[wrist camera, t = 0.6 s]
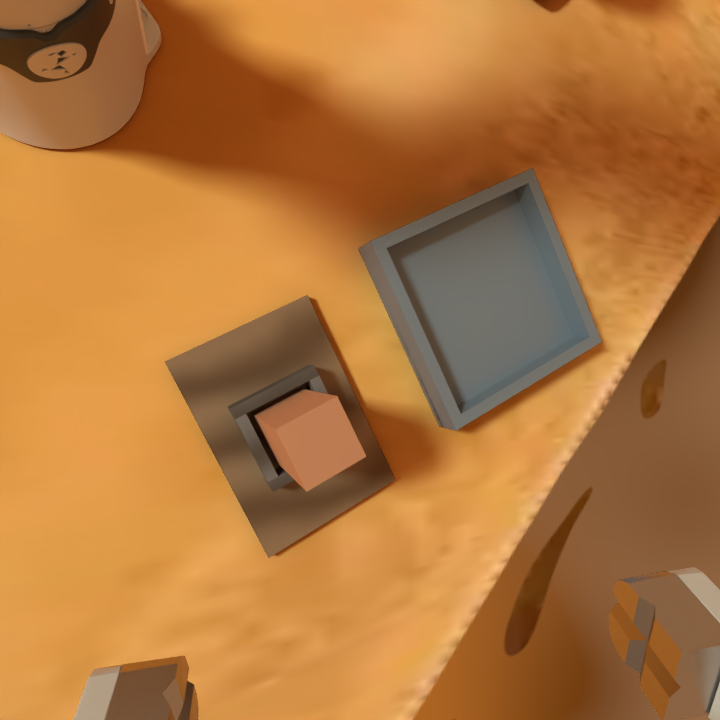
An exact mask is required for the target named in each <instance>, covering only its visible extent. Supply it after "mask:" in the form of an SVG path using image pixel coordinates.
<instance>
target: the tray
mask: <svg viewBox="0 0 720 720" xmlns="http://www.w3.org/2000/svg"><path fill="white" fill-rule="evenodd" d="M359 251H360V254H361V256H362V258H363V260H364V262H365V265H366V267H367V269H368V271H369V273H370V276H371V278H372V280H373V282H374V284H375V287H376V289H377V291H378V293H379V295H380V298H381V300H382V302H383V304H384V306H385V308H386V311H387V313H388V315H389V317H390V319H391V322H392V324H393V326H394V328H395V330H396V333H397V335H398V337H399V339H400V341H401V344H402V346H403V348H404V350H405V352H406V354H407V357H408V359H409V361H410V363H411V365H412V368H413V370H414V372H415V374H416V376H417V379H418V381H419V383H420V385H421V387H422V390H423V392H424V394H425V396H426V398H427V400H428V403H429V405H430V407H431V409H432V411H433V414H434V416H435V418H436V420H437V422H438V425H439V427H443V428H447V429H451V430H455V431H457V430H458V429H460V428H462V427H463V426H465V425H466V424H468V423H470V422H471V421H473V420H475V419H476V418H478V417H480V416H481V415H483V414H484V413H486V412H488V411H489V410H491V409H493V408H494V407H496V406H498V405H499V404H501V403H502V402H504V401H506V400H507V399H509V398H511V397H512V396H514V395H516V394H517V393H519V392H521V391H522V390H524V389H525V388H527V387H529V386H530V385H532V384H534V383H535V382H537V381H539V380H540V379H542V378H543V377H545V376H547V375H548V374H550V373H552V372H553V371H555V370H557V369H558V368H560V367H561V366H563V365H565V364H566V363H568V362H570V361H571V360H573V359H575V358H576V357H578V356H579V355H581V354H583V353H584V352H586V351H588V350H589V349H591V348H593V347H594V346H596V345H598V344H599V343H601V342H602V341H601V338H600V336H599V333H598V331H597V328H596V326H595V323H594V321H593V318H592V316H591V313H590V311H589V308H588V306H587V303H586V301H585V298H584V296H583V293H582V291H581V288H580V286H579V283H578V280H577V278H576V275H575V273H574V270H573V268H572V265H571V263H570V260H569V258H568V255H567V253H566V250H565V248H564V245H563V243H562V240H561V238H560V235H559V233H558V230H557V228H556V225H555V223H554V220H553V218H552V215H551V213H550V210H549V207H548V205H547V202H546V200H545V197H544V195H543V192H542V190H541V187H540V185H539V182H538V180H537V177H536V175H535V172H534V170H533V168H531V169H529V170H527V171H525V172H523V173H520V174H518V175H516V176H514V177H512V178H509V179H507V180H505V181H503V182H500V183H498V184H496V185H494V186H492V187H489V188H487V189H485V190H483V191H481V192H478V193H476V194H474V195H472V196H469V197H467V198H465V199H463V200H461V201H458V202H456V203H454V204H452V205H450V206H447V207H445V208H443V209H441V210H438V211H436V212H434V213H432V214H430V215H427V216H425V217H423V218H421V219H419V220H416V221H414V222H412V223H410V224H408V225H405V226H403V227H401V228H399V229H396V230H394V231H392V232H390V233H388V234H385V235H383V236H381V237H379V238H377V239H374V240H372V241H370V242H368V243H367V244H365V245H364V246H362V247H360V248H359Z"/></svg>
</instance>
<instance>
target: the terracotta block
mask: <svg viewBox="0 0 720 720" xmlns="http://www.w3.org/2000/svg"><path fill="white" fill-rule="evenodd" d="M252 416H253V417H254V419H255V421H256V423H257V425H258V427H259V429H260V431H261V433H262V435H263V437H264V439H265V441H266V443H267V445H268V447H269V449H270V451H271V453H272V455H273V457H274V459H275V461H276V462H277V463H278V464H279V465H280V466H281V467H282V468H283V469H284V470H285V471H286V472H287V473H288V474H289V475H290V476H291V477H292V478H293V479H294V480H295V481H296V482H297V483H298V484H299V485H300V486H301V487H302V488H303V489H304V490H305V491H309V490H311V489H312V488H314V487H316V486H317V485H319V484H321V483H322V482H324V481H326V480H328V479H329V478H331V477H333V476H334V475H336V474H338V473H339V472H341V471H343V470H344V469H346V468H348V467H349V466H351V465H353V464H355V463H356V462H358V461H360V460H361V459H363V458H365V457H366V454H365V452H364V450H363V448H362V446H361V444H360V442H359V440H358V438H357V436H356V434H355V432H354V430H353V428H352V425H351V423H350V421H349V419H348V417H347V415H346V413H345V411H344V409H343V407H342V405H341V403H340V401H339V399H338V396H335V395H330V394H325V393H320V392H315V391H310V390H306V389H301V388H300V389H298V390H296V391H294V392H292V393H291V394H289V395H287V396H285V397H283V398H281V399H279V400H277V401H275V402H273V403H271V404H270V405H268V406H266V407H264V408H262V409H260V410H258V411H256V412H254V413H252Z"/></svg>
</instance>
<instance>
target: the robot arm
mask: <svg viewBox="0 0 720 720" xmlns="http://www.w3.org/2000/svg"><path fill="white" fill-rule="evenodd" d="M161 41H162V36H161V31H160V28H159V26H158V24H157V22H156V21H155V19H154V18H153V17H152V15H151V14H150V12H149V11H148V10H147V8H146V7H145V5H144V4H143V3H142V1H141V0H0V132H1V133H3V134H5V135H6V136H8V137H11V138H13V139H15V140H18V141H20V142H23V143H26V144H29V145H33V146H37V147H42V148H49V149H74V148H81V147H85V146H89V145H93V144H95V143H98V142H100V141H102V140H105V139H106V138H108V137H110V136H112V135H113V134H115V133H116V132H117V131H118V130H120V129H121V128H122V127H123V126H124V125H125V124H126V123H127V122H128V121H129V119H130V118H131V117H132V115H133V114H134V112H135V110H136V108H137V106H138V104H139V102H140V99H141V96H142V92H143V86H144V79H145V72H146V68H147V65H148V64H149V62H150V61H151V59H152V58H153V57H154V55H155V54H156V52H157V51H158V49H159V47H160V45H161ZM613 595H614V596H615V597H616V599H617V600H618V603H617V604H616V605H615V606H614V607H613V608H612V609H611V610H610V616H609V628H610V632H611V638H612V640H613V642H614V645H615V647H616V649H617V651H618V653H619V655H620V656H621V658H622V659H623V661H624V663H625V664H627V665H628V666H630V667H631V668H633V669H634V670H636V671H638V672H639V673H640V687H641V689H642V690H643V692H644V693H645V695H646V697H647V698H648V700H649V701H650V703H651V704H652V706H653V707H654V709H655V710H656V712H657V713H658V715H659V717H660V718H661V719H662V720H679V719H684V718H690V717H696V716H703V715H709V718H710V719H711V720H720V590H719V589H718V588H717V587H716V585H715V584H714V583H713V582H712V581H710V579H709V578H708V577H707V576H706V575H705V574H704V573H703V572H702V571H701V570H699V569H697V568H695V567H689V568H683V569H677V570H672V571H662V572H657V573H652V574H647V575H641V576H636V577H631V578H625V579H620V580H619V581H618V582H617V583H616V584H615V587H614V592H613ZM188 672H189V666H188V663H187V661H186V658H185V656H178V657H171V658H164V659H157V660H150V661H143V662H136V663H129V664H123V665H117V666H110V667H104V668H98V669H94V670H93V672H92V673H91V675H90V676H89V678H88V679H87V682H86V685H85V688H84V691H83V694H82V697H81V699H80V702H79V705H78V708H77V711H76V714H75V717H74V720H198V700H197V693H196V690H195V686H194V684H192V683H190V682H189V681H187V679H188Z"/></svg>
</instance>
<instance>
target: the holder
mask: <svg viewBox="0 0 720 720" xmlns="http://www.w3.org/2000/svg"><path fill="white" fill-rule="evenodd" d="M165 363H166V365H167V367H168V369H169V370H170V372H171V374H172V376H173V378H174V380H175V382H176V384H177V386H178V387H179V389H180V391H181V393H182V395H183V397H184V399H185V401H186V403H187V405H188V406H189V408H190V410H191V412H192V414H193V416H194V418H195V420H196V422H197V423H198V425H199V427H200V429H201V431H202V433H203V435H204V437H205V439H206V440H207V442H208V444H209V446H210V448H211V450H212V452H213V454H214V456H215V457H216V459H217V461H218V463H219V465H220V467H221V469H222V471H223V473H224V474H225V476H226V478H227V480H228V482H229V484H230V486H231V488H232V490H233V492H234V493H235V495H236V497H237V499H238V501H239V503H240V505H241V507H242V509H243V510H244V512H245V514H246V516H247V518H248V520H249V522H250V524H251V526H252V527H253V529H254V531H255V533H256V535H257V537H258V539H259V541H260V543H261V544H262V546H263V548H264V550H265V552H266V554H267V556H268V558H270V557H271V556H273V555H275V554H276V553H278V552H279V551H281V550H283V549H284V548H286V547H288V546H289V545H291V544H292V543H294V542H296V541H297V540H299V539H300V538H302V537H304V536H305V535H307V534H309V533H310V532H312V531H313V530H315V529H317V528H318V527H320V526H321V525H323V524H325V523H326V522H328V521H330V520H331V519H333V518H334V517H336V516H338V515H339V514H341V513H343V512H344V511H346V510H347V509H349V508H351V507H352V506H354V505H355V504H357V503H359V502H360V501H362V500H364V499H365V498H367V497H368V496H370V495H372V494H373V493H375V492H376V491H378V490H380V489H381V488H383V487H385V486H386V485H388V484H389V483H391V482H393V481H394V480H395V478H394V475H393V473H392V471H391V469H390V467H389V465H388V463H387V461H386V459H385V457H384V454H383V452H382V450H381V448H380V446H379V444H378V442H377V440H376V438H375V436H374V434H373V431H372V429H371V427H370V425H369V423H368V421H367V419H366V417H365V415H364V413H363V410H362V408H361V406H360V404H359V402H358V400H357V398H356V396H355V394H354V392H353V390H352V387H351V385H350V383H349V381H348V379H347V377H346V375H345V373H344V371H343V369H342V366H341V364H340V362H339V360H338V358H337V356H336V354H335V352H334V350H333V348H332V346H331V343H330V341H329V339H328V337H327V335H326V333H325V331H324V329H323V327H322V325H321V322H320V320H319V318H318V316H317V314H316V312H315V310H314V308H313V306H312V304H311V302H310V299H309V297H308V295H307V296H304V297H302V298H300V299H298V300H296V301H294V302H292V303H290V304H287V305H285V306H283V307H281V308H279V309H277V310H275V311H272V312H270V313H268V314H266V315H264V316H262V317H260V318H257V319H255V320H253V321H251V322H249V323H247V324H245V325H242V326H240V327H238V328H236V329H234V330H232V331H230V332H228V333H225V334H223V335H221V336H219V337H217V338H215V339H213V340H210V341H208V342H206V343H204V344H202V345H200V346H198V347H195V348H193V349H191V350H189V351H187V352H185V353H183V354H181V355H178V356H176V357H174V358H172V359H170V360H168V361H166V362H165ZM300 388H301V389H306V390H310V391H315V392H320V393H325V394H330V395H335V396H338V399H339V401H340V403H341V405H342V407H343V409H344V411H345V413H346V415H347V417H348V419H349V421H350V423H351V425H352V428H353V430H354V432H355V434H356V436H357V438H358V440H359V442H360V444H361V446H362V448H363V450H364V452H365V454H366V457H365V458H363V459H361V460H360V461H358V462H356V463H355V464H353V465H351V466H349V467H348V468H346V469H344V470H343V471H341V472H339V473H338V474H336V475H334V476H333V477H331V478H329V479H328V480H326V481H324V482H322V483H321V484H319V485H317V486H316V487H314V488H312V489H311V490H309V491H305V490H304V489H303V488H302V487H301V486H300V485H299V484H298V483H297V482H296V481H295V480H294V479H293V478H292V477H291V476H290V475H289V474H288V473H287V472H286V471H285V470H284V469H283V468H282V467H281V466H280V465H279V464H278V463H277V462H276V461H275V459H274V457H273V455H272V453H271V451H270V449H269V447H268V445H267V443H266V441H265V439H264V437H263V435H262V433H261V431H260V429H259V427H258V425H257V423H256V421H255V419H254V417H253V416H252V413H254V412H256V411H258V410H260V409H262V408H264V407H266V406H268V405H270V404H271V403H273V402H275V401H277V400H279V399H281V398H283V397H285V396H287V395H289V394H291V393H292V392H294V391H296V390H298V389H300Z"/></svg>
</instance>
